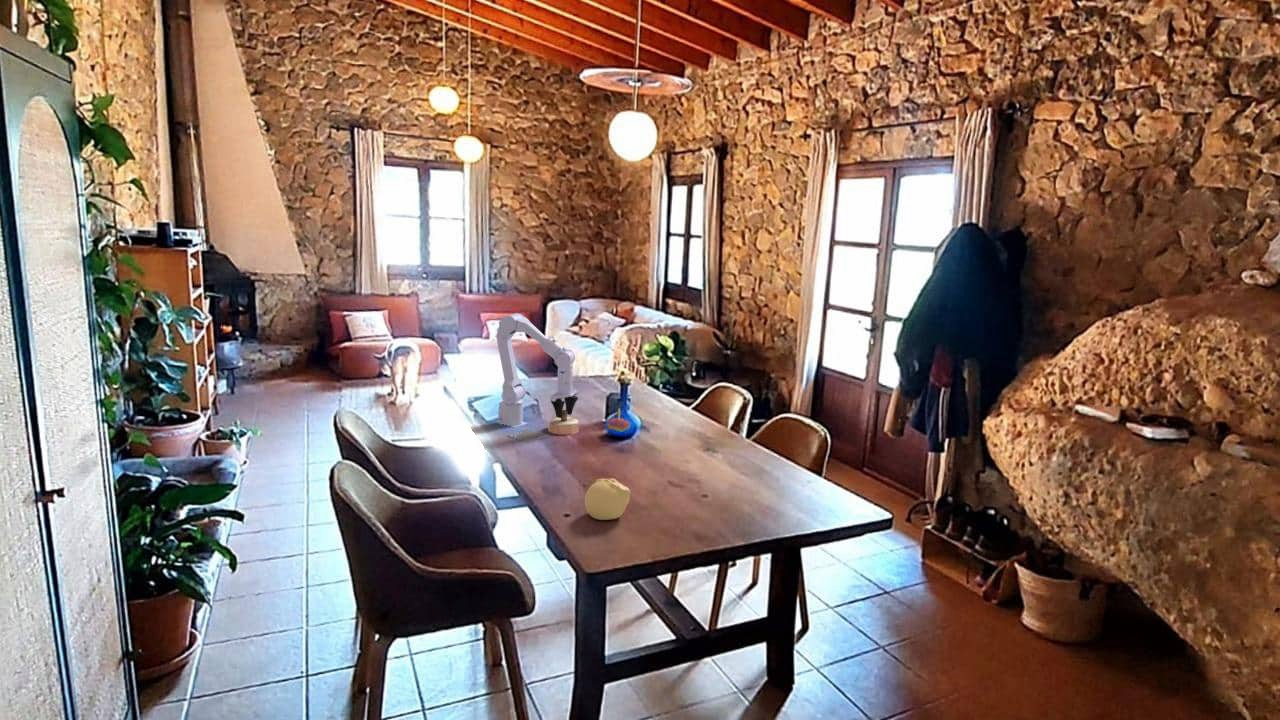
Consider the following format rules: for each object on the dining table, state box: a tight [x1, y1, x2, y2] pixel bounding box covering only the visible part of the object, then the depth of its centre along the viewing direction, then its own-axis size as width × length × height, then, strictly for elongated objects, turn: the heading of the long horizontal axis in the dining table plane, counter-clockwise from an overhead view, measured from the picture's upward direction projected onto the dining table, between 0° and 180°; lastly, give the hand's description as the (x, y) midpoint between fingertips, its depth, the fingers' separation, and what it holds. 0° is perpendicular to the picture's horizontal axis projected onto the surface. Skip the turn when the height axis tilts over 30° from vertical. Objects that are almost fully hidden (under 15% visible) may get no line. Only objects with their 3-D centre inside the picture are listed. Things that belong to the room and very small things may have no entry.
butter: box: [584, 477, 631, 521], centre depth 205 cm, size 11×12×11 cm
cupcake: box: [607, 407, 631, 432], centre depth 280 cm, size 9×8×12 cm
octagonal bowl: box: [547, 419, 580, 435], centre depth 284 cm, size 12×12×4 cm
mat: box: [505, 428, 551, 444], centre depth 275 cm, size 12×12×1 cm
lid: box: [549, 409, 579, 426], centre depth 283 cm, size 11×11×5 cm
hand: (563, 415), depth 283 cm, fingers open, 5 cm apart
